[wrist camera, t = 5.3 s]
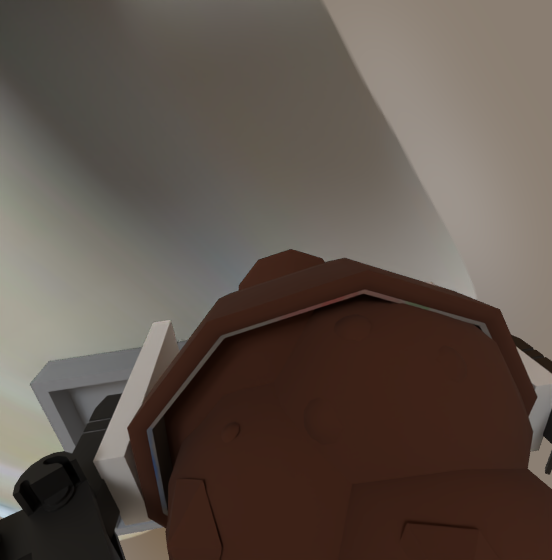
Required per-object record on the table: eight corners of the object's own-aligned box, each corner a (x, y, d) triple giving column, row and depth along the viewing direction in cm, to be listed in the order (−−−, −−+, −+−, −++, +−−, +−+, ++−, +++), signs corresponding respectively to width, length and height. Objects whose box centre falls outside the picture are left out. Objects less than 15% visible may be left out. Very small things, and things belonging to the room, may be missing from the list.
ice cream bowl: (317, 144, 14) (1646, 349, 1) (417, 315, 19) (884, 786, 5) (137, 278, 16) (-399, 1088, 2) (268, 406, 20) (334, 947, 7)
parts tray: (48, 361, 28) (29, 384, 25) (281, 326, 29) (285, 344, 26) (118, 508, 36) (109, 536, 33) (298, 476, 37) (302, 501, 34)
